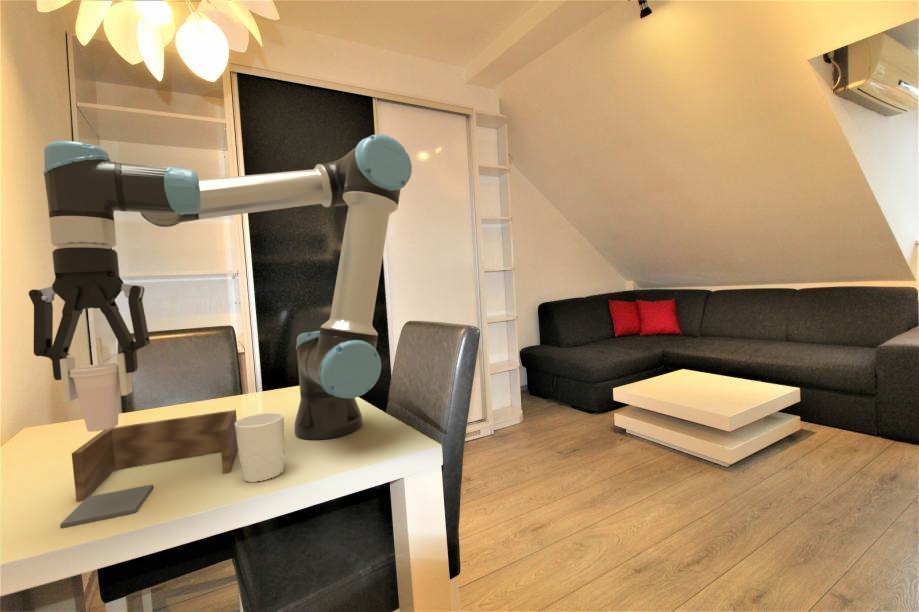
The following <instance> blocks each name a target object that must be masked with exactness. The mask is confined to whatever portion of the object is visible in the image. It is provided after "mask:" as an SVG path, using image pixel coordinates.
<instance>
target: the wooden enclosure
mask: <svg viewBox="0 0 919 612" xmlns="http://www.w3.org/2000/svg"><path fill="white" fill-rule="evenodd" d="M236 421H238V419H237V410H236V409H232V410H225V411H219V412H213V413H211V412H210V413H206V414H205V413H204V414H196V415H190V416H185V417H184V416H183V417H176V418H169V419H163V420H155V421H149V422H143V423H142V422H141V423H134V424H125V425H119V426H115V427H113V428H110V429H106V430H101V431H99V433H98V434H96V435H95V436H94V437H92V438H91V439H89V440H88V441H87V442H85V443H84V444H82V445H81V446H80V447H78V448H77V449H76V450H74V451H73V452H72V453H71V462H72V470H73V471H72V472H73V480H74V481H73V483H74V490H75V501H76V502H81V501H84V500H85V499H86V498H87V497H89V496H92V494H93V493H94V492H95V491H96V490H97V489H98V488H99V487H100V486H101V485H102V484H103V483H104V482H105V481H106V480H107V479H108V478H109V477H110V476H111V475H112V474H113V473H114V472H113V471H114V470H115V469H117V470H121V469H127V468H128V467H129V468H133V467H132V466H135V467H139V466H138V465H140V466H144V465H143V464H146V465H151V464H150V463H152V464H157V463H162V462H168V461H174V460H180V459H181V460H182V459H186V458H191V457H192V456H193V457H198V456H204V455H210V454H215V453H214V452H216V453H221V466H222V474H227V473H231V472H232V471H231V470H232V468H233V465H234V462H235V460H236V456H237V453H238V445H237V438H236V430H235V422H236ZM209 453H210V454H209ZM203 454H204V455H203ZM197 455H198V456H197ZM193 457H192V458H193ZM129 468H128V469H129ZM115 471H116V470H115ZM112 472H113V473H112ZM111 473H112V474H111ZM110 474H111V475H110ZM109 475H110V476H109ZM108 476H109V477H108ZM107 477H108V478H107ZM106 478H107V479H106ZM105 479H106V480H105ZM104 480H105V481H104ZM103 481H104V482H103ZM102 482H103V483H102ZM101 483H102V484H101ZM100 484H101V485H100ZM99 485H100V486H99ZM98 486H99V487H98ZM97 487H98V488H97ZM96 488H97V489H96ZM95 489H96V490H95ZM94 490H95V491H94Z"/></svg>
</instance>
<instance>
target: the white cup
mask: <svg viewBox="0 0 919 612" xmlns="http://www.w3.org/2000/svg"><path fill="white" fill-rule="evenodd" d="M284 418H285V417H284V414H283V413H280V412H263V413H257V414H256V413H255V414H252V415H247V416H245V417H242V418H240V419H237V421H236V422H235V430H236V438H237V445H238V451H237V453H238V455H239V457H238V459H239V464H240V465H241V467H240V469H241V476H242V479H243V481H244V482H247V481H248V482H249V483H258V482H257V481H261V482H264V481H263V480H265V481H268V480H267V479H269V480H271V479H270V478H272V479H274V478H276V477H278V476H280V475H281V474H282V473H283V472H284V469H285V463H284V462H285V461H284V458H285V425H284V424H285V423H284V421H285V419H284ZM281 472H282V473H281ZM280 473H281V474H280ZM279 474H280V475H279ZM277 475H278V476H277ZM275 476H276V477H275ZM273 477H274V478H273Z"/></svg>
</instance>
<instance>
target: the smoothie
mask: <svg viewBox="0 0 919 612" xmlns="http://www.w3.org/2000/svg"><path fill="white" fill-rule="evenodd" d="M95 339H96V348H97V349H96V350H97V359H98V363H97V364H91V365H85V366H78V367H76V368H74V369H71V370H70V377H73V380H74V384H75V388H76V391H77V395H78V398H77V399H78V401H79V405H80V409H81V413H82V417H83V419H84V424H85V426H86V427H85V428H86V431H87V432H90V433H91V432H102V431H103V430H106V429H110V428H113V427H118V425H119V412H120V397H121V391H120V380H119V370H118V362H105V363H104V355H103V353H104V352H103V344H102V338H101V337H97V338H95Z"/></svg>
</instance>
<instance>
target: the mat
mask: <svg viewBox="0 0 919 612" xmlns="http://www.w3.org/2000/svg"><path fill="white" fill-rule="evenodd" d="M153 489H154V484H148V485H144V486H138V487H132V488H126V489H121V490H116V491H110V492H105V493H100V494H94V495H90V496H89V497H87V498H86V499H85V500H82V502H81V503H80V504H79V505H78V506H77V507H75V509H74V510H72V511H71V513H70V514H69V515H68V516H67V517H65V518H64V520H63V521H62V522H61V523H60V525H59V528H60V529H64V528H68V527H73V526H74V527H75V526H77V525H78V526H79V525H82V524H87V523H93V522H97V521H102V520H107V519H113V518H116V517H122V516H127V515H131V514H136V513H137V512H138V510H139V509H140V508H141V506H142V504H144V502H145V500H146V499H147V498H148V496H149V495H150V493H151V492H152V490H153Z"/></svg>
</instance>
